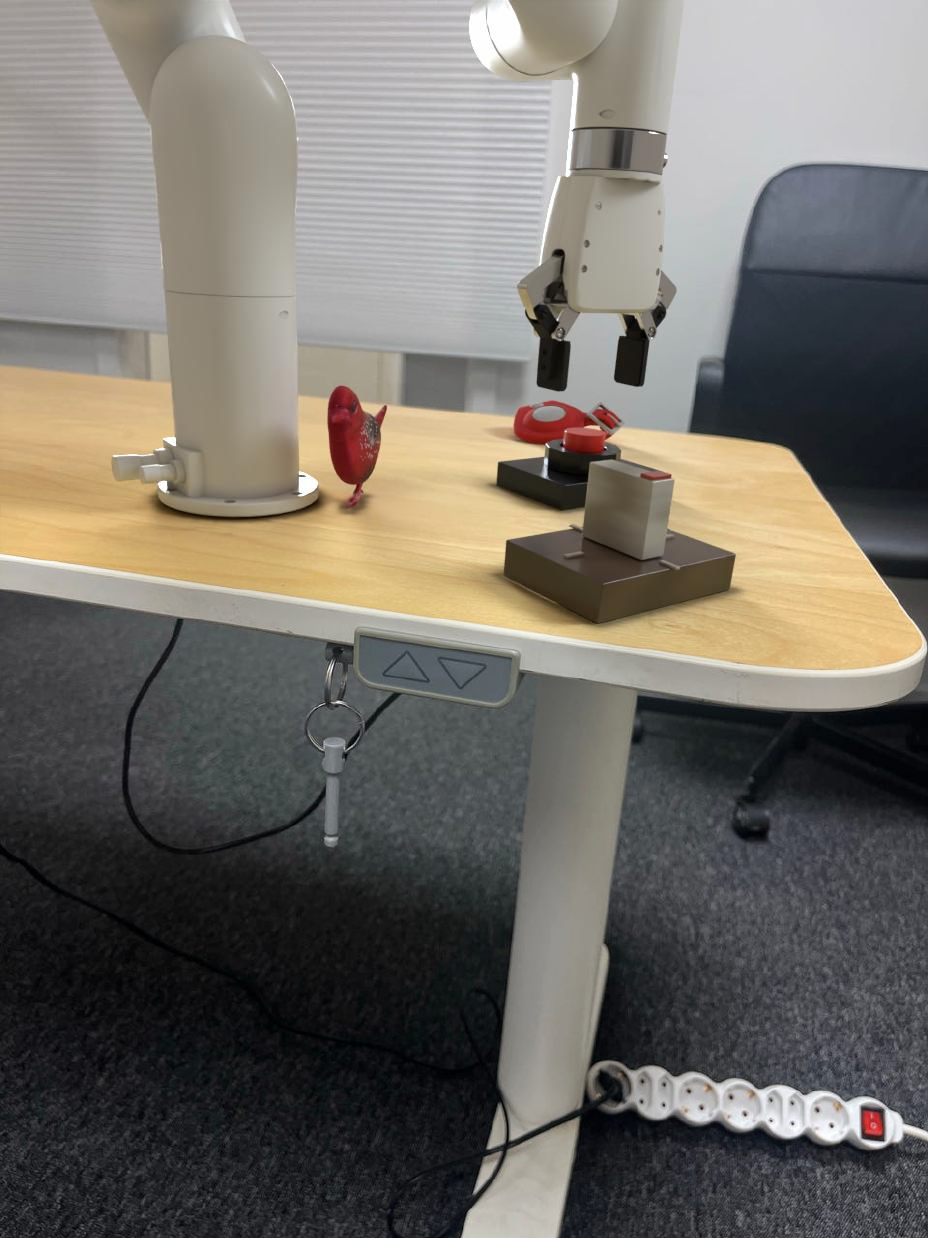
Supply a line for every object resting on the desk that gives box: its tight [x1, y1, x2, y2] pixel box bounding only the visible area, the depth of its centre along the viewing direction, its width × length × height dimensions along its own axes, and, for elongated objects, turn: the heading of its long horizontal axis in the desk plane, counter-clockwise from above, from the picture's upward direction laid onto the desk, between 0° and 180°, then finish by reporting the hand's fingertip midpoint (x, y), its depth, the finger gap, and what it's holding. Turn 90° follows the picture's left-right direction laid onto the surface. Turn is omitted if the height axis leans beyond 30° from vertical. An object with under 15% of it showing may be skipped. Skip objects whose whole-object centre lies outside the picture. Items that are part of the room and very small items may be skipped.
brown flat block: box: [503, 523, 737, 624], centre depth 58 cm, size 12×10×3 cm
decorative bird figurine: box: [326, 385, 388, 509], centre depth 72 cm, size 3×18×10 cm, turn 172°
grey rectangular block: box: [582, 460, 675, 560], centre depth 57 cm, size 6×2×5 cm, turn 36°
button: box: [563, 427, 606, 452], centre depth 79 cm, size 4×4×2 cm
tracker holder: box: [512, 399, 626, 445], centre depth 102 cm, size 12×4×10 cm
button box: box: [495, 439, 664, 512], centre depth 79 cm, size 12×9×4 cm
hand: (590, 385), depth 77 cm, fingers open, 8 cm apart
